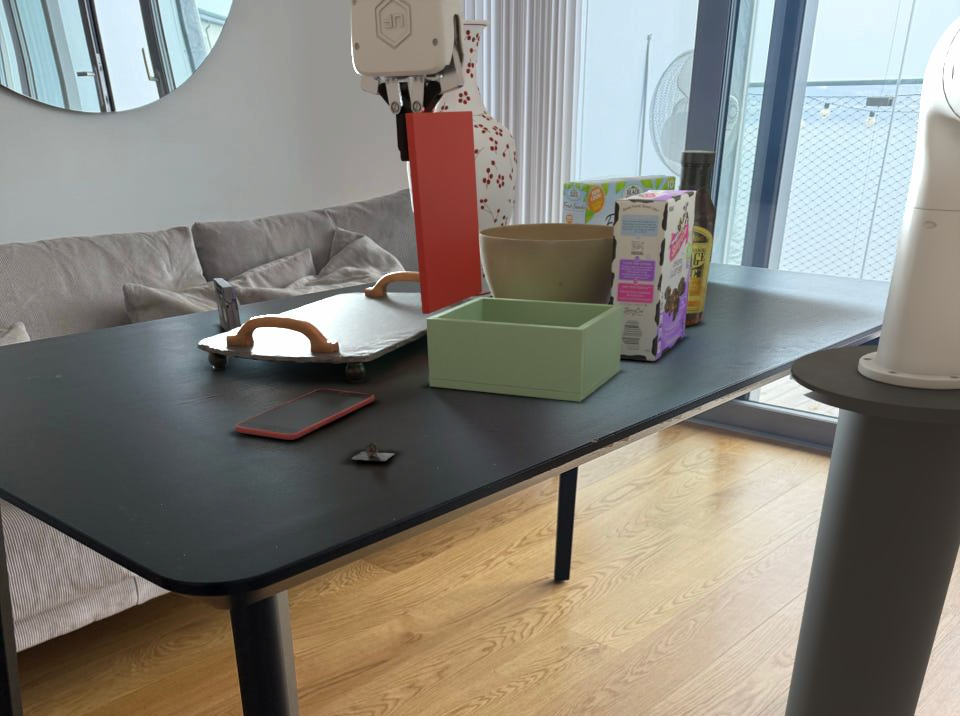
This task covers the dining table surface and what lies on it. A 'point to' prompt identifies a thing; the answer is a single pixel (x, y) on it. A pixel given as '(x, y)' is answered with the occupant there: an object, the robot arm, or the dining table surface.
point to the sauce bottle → (698, 227)
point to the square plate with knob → (372, 454)
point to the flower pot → (548, 261)
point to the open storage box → (525, 347)
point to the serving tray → (330, 330)
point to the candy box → (652, 269)
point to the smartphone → (304, 414)
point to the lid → (444, 206)
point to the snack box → (606, 196)
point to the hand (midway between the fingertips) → (415, 160)
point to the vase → (483, 145)
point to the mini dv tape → (226, 304)
